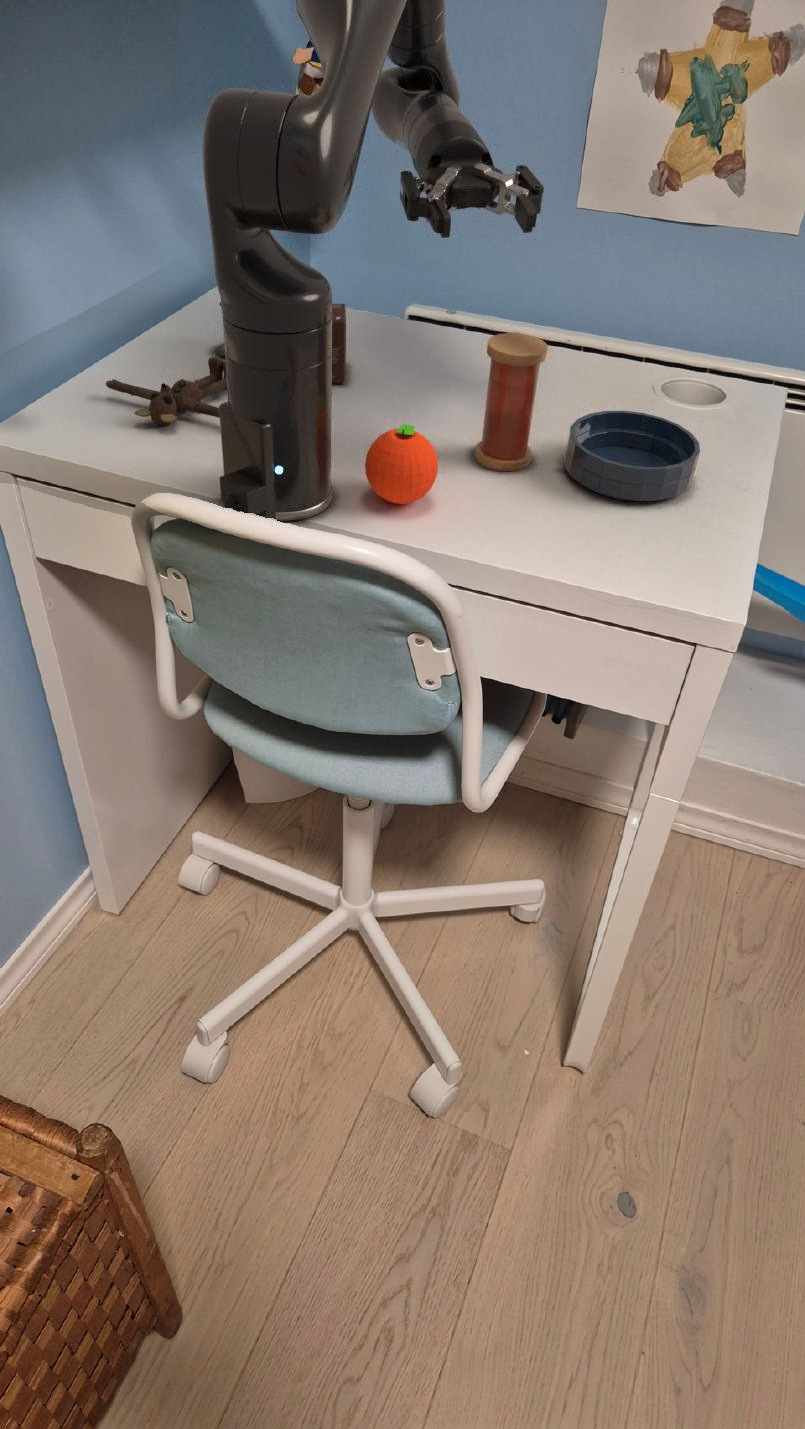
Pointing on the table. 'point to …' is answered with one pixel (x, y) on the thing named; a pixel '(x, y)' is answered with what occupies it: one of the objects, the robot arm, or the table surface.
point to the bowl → (631, 455)
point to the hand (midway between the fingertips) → (489, 226)
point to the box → (338, 343)
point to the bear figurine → (179, 395)
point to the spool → (510, 400)
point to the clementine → (401, 465)
